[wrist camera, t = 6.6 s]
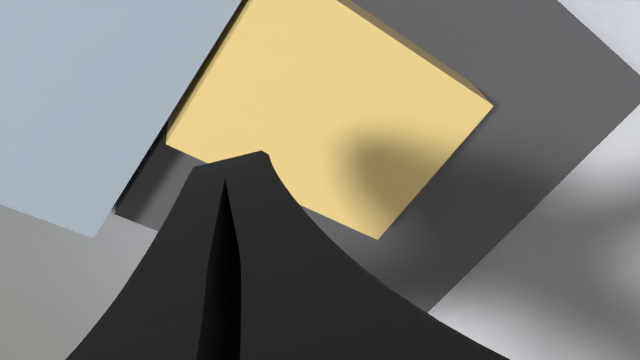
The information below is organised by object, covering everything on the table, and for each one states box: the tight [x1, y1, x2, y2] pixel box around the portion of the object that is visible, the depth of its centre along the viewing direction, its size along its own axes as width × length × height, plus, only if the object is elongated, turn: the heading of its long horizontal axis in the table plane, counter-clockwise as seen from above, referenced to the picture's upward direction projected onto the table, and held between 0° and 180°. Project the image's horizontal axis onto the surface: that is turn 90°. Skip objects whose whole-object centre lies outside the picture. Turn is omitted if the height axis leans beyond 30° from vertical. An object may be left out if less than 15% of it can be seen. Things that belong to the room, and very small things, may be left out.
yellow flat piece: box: [166, 0, 494, 240], centre depth 17 cm, size 8×6×2 cm
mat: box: [115, 0, 640, 313], centre depth 20 cm, size 14×14×1 cm
